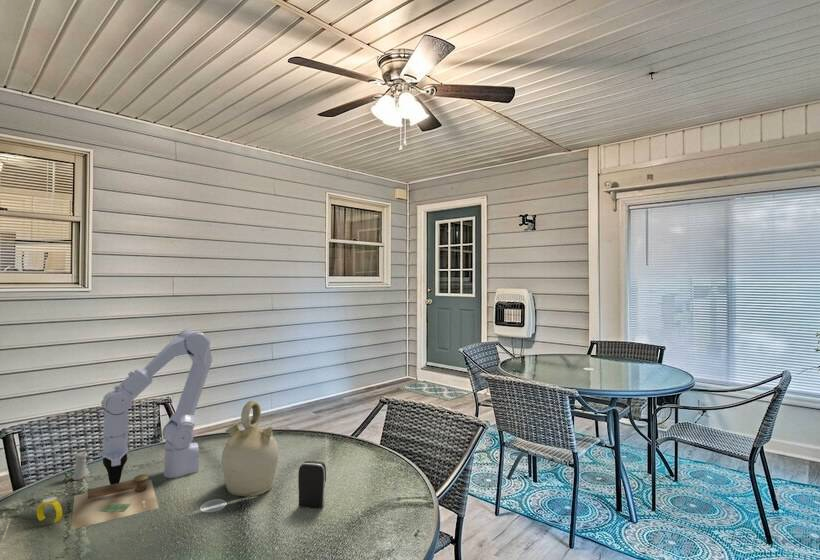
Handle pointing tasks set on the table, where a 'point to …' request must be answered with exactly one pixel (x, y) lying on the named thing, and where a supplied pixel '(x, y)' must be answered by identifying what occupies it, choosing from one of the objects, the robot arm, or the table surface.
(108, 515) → the tan wooden board
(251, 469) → the jug
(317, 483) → the battery charger
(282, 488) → the table surface
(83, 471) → the rook chess piece
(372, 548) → the table surface
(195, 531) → the table surface
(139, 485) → the peg lever
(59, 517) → the watch
